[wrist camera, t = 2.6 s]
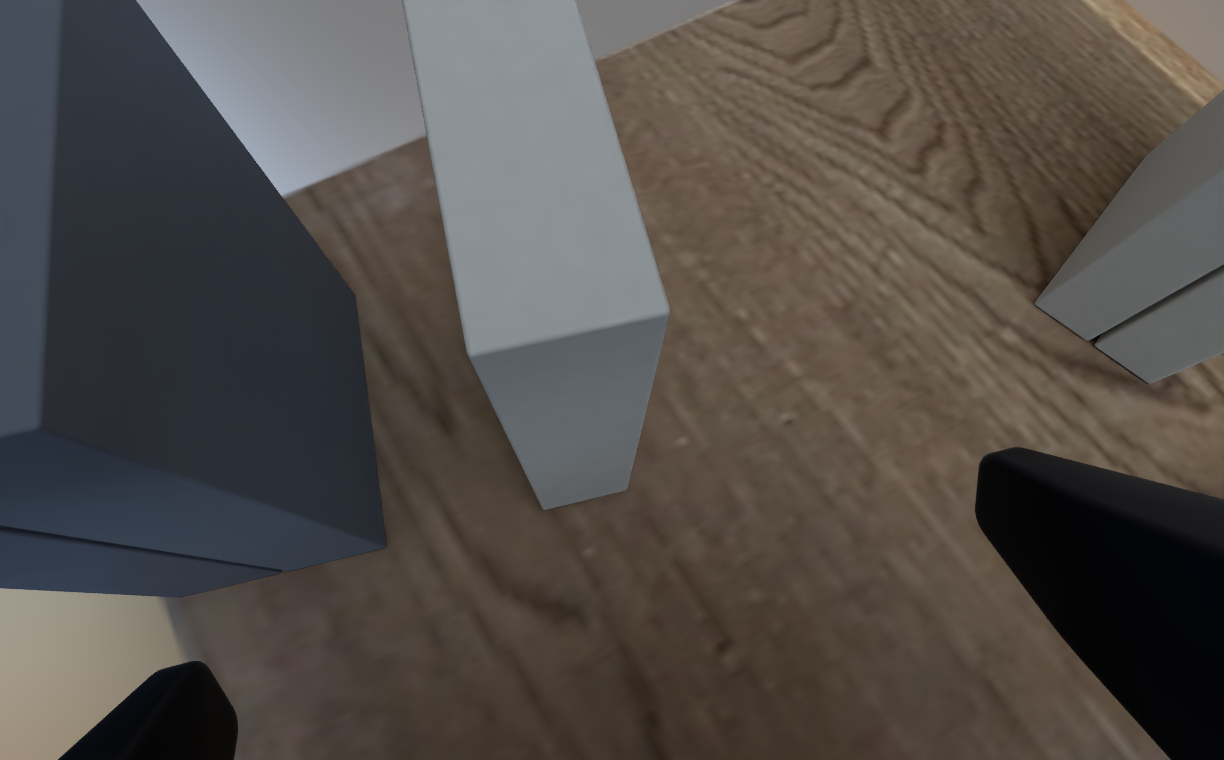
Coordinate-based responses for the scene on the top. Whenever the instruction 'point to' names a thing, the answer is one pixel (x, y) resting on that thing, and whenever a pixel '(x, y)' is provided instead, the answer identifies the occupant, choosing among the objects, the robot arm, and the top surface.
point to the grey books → (161, 331)
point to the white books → (1155, 259)
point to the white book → (541, 236)
